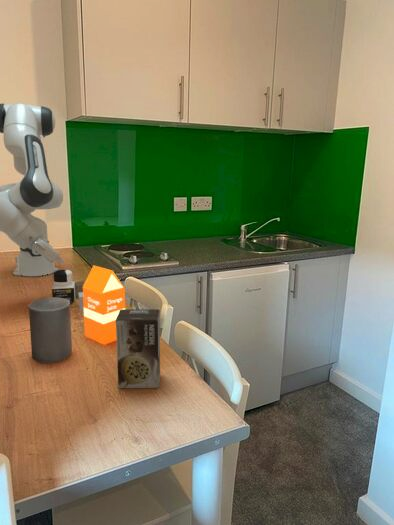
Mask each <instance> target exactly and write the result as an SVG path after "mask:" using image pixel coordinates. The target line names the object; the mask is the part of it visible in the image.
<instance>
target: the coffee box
mask: <svg viewBox="0 0 394 525" xmlns="http://www.w3.org/2000/svg"><path fill="white" fill-rule="evenodd" d="M160 310H161V309H157V308H156V309H155V308H154V309H150V308H149V309H141V308H140V309H137V308H136V309H133V308H132V309H126V308H125V310H120V312H119V314H118V316H117V318H116V339H117V340H116V360H117V361H116V363H117V364H116V365H117V388H118V389H159V387H160V382H161V332H160V331H161V329H160V328H161V327H160V326H161V325H160V324H161V322H160V321H161V320H160V319H161V316H160V314H161V313H160V312H161V311H160Z"/></svg>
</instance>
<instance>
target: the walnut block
mask: <svg viewBox="0 0 394 525" xmlns="http://www.w3.org/2000/svg"><path fill="white" fill-rule="evenodd" d="M85 281H86V280H77V281H74V282H75V299H77V300H79V297H78V293H79V292H83V288H82V287H83V285H84V283H85Z"/></svg>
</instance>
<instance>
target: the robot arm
mask: <svg viewBox="0 0 394 525" xmlns="http://www.w3.org/2000/svg"><path fill="white" fill-rule="evenodd" d="M55 128H56V119H55V116H54V113H53V111H52V110H51V108H49V107H45V106H42V105H41V106H38V105H33V104H27V103H19V102H17V103H16V102H15V103H6V104H5V103H0V134H3V136H2V138H3V145H4V147H5V149H6V151H8V152H9V153H10V154H11V155H12V156H13V167H14V169H15V170H16V172H17V173H18V174H21V175H22V176H23V177H22V179H20V181H19V182H17V183H7V184H2V185H1V186H0V232H1V233H4V234H5V235H6V236H7V237H8V239H9V240H11V241H12V242H13V243H15V245H17V246H18V247H19V250H20V252H19V253H18V254H17V255H16V257H15V263H16V266H15V268H14V270H13V272H12V274H14V275H13V276H21V275H22V277H41V276H42V275H43V276H47V274H48V275H51V274H53V273H54V272H55V271H57V270H60V269H59V267H57V266H55V262H56V263H57V264H58V265H63V263H65V260H64V259H63V258H62V257H61V256H60V254H59V252H58V251H57V250H55V248H54V247H53V246H52V245H51V244H50V241H49V239H48V225H47V223H46V222H45V220H43V219H41V218H39V217H37V216H34V215H32V213H33V212H35V211H36V210H52V209H57V208H60V206H62V203H63V201H64V194H63V191H62V189H61V188H60V187H59V186H58V185H57V184H55V183H54V182H53V181H52V179H50V176H49V172H48V167H47V166H48V165H47V160H46V154H45V148H44V145H43V142H42V139H41V136H42V137H43V138H46V137H47V136H50V135H51V134H52V133H54V129H55Z"/></svg>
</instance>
